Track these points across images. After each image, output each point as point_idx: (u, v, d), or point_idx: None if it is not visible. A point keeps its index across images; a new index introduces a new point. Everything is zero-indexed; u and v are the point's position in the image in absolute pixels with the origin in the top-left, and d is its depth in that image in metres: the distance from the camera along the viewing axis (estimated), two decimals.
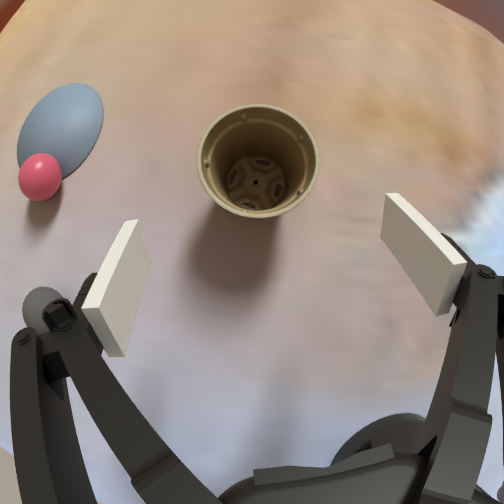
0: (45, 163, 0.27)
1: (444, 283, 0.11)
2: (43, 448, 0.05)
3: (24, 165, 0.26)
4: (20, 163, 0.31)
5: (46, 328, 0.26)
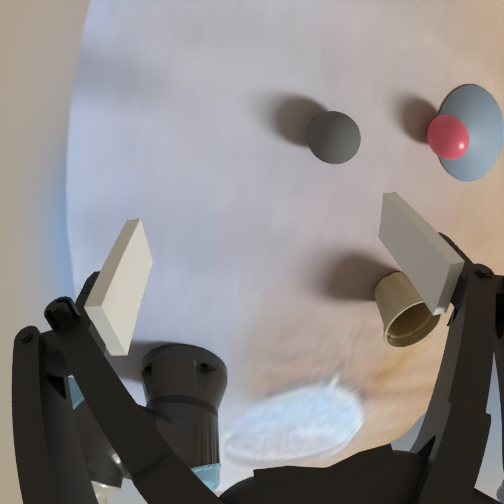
0: (459, 157, 0.30)
1: (442, 282, 0.11)
2: (45, 447, 0.05)
3: (466, 138, 0.27)
4: (459, 90, 0.29)
5: (325, 155, 0.29)
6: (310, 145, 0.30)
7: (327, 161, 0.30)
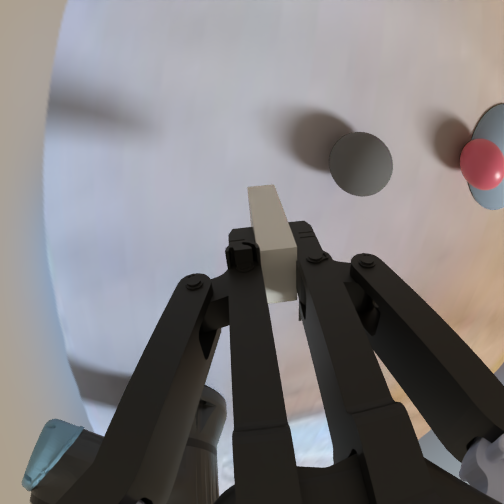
0: (493, 188, 0.25)
1: None
2: (160, 406, 0.07)
3: (503, 168, 0.23)
4: (494, 109, 0.24)
5: (352, 187, 0.24)
6: (333, 173, 0.25)
7: (353, 193, 0.25)
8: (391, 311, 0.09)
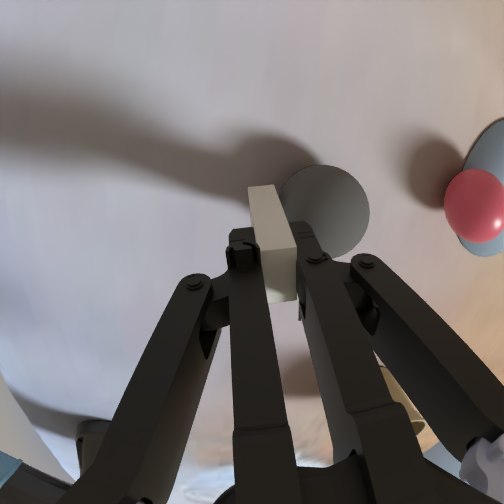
0: None
1: None
2: (160, 405, 0.07)
3: None
4: (498, 125, 0.18)
5: (332, 253, 0.17)
6: None
7: None
8: (391, 311, 0.09)
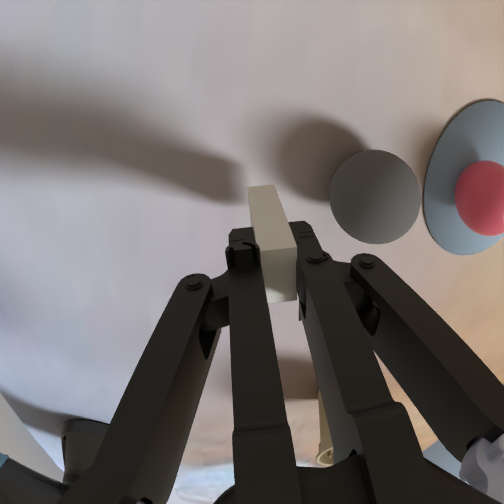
0: None
1: None
2: (160, 405, 0.07)
3: None
4: (472, 109, 0.16)
5: None
6: None
7: None
8: (391, 311, 0.09)
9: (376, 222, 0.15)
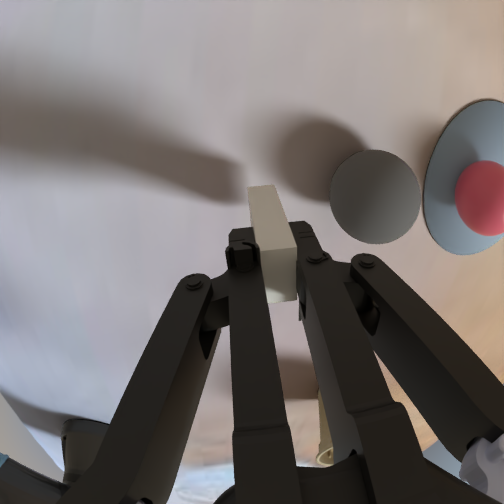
0: None
1: None
2: (160, 405, 0.07)
3: None
4: (472, 109, 0.16)
5: None
6: None
7: None
8: (391, 311, 0.09)
9: (376, 222, 0.15)
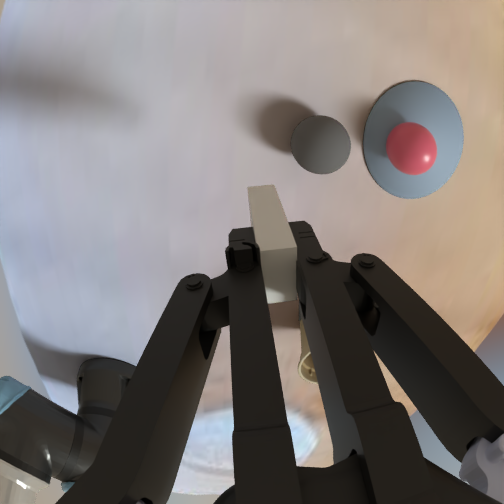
0: None
1: None
2: (160, 406, 0.07)
3: None
4: (397, 88, 0.26)
5: None
6: None
7: None
8: (391, 311, 0.09)
9: (316, 155, 0.25)
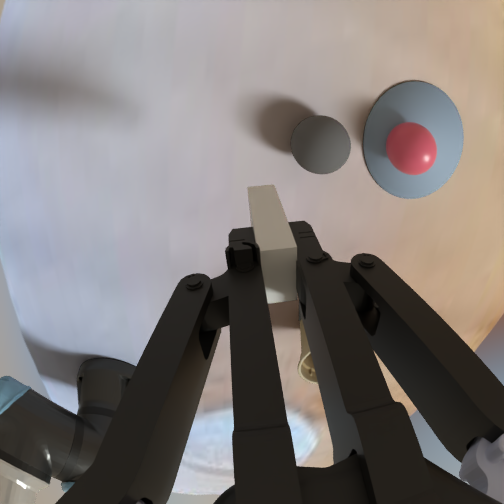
0: None
1: None
2: (160, 406, 0.07)
3: None
4: (396, 88, 0.26)
5: None
6: None
7: None
8: (391, 311, 0.09)
9: (316, 155, 0.25)
